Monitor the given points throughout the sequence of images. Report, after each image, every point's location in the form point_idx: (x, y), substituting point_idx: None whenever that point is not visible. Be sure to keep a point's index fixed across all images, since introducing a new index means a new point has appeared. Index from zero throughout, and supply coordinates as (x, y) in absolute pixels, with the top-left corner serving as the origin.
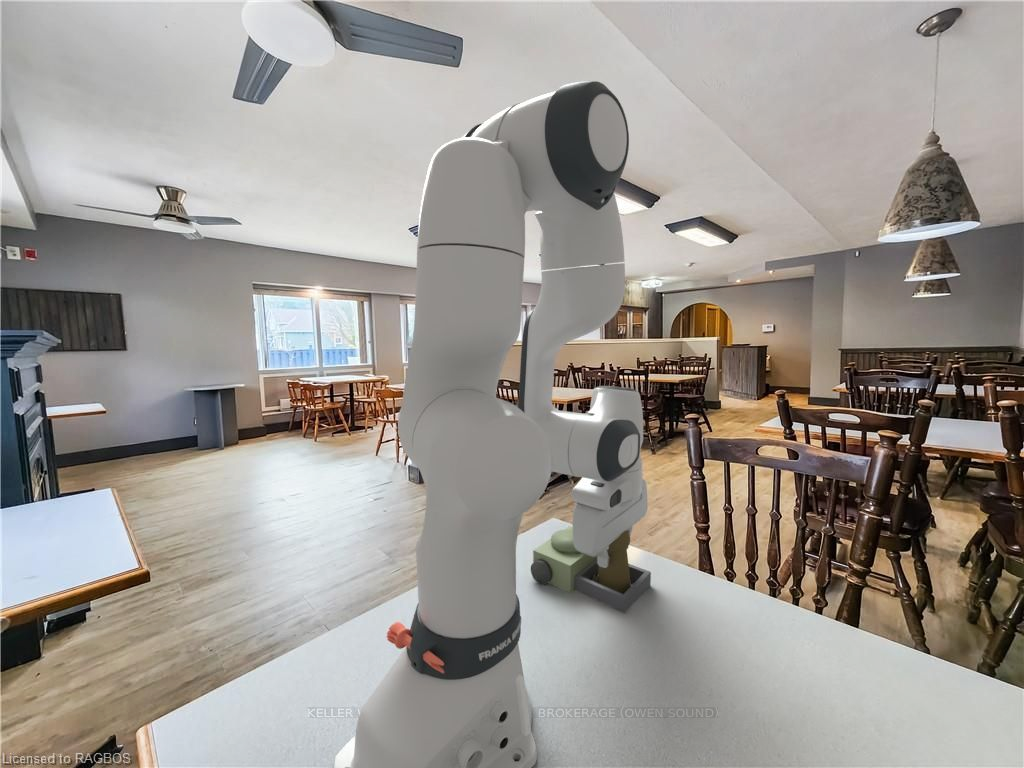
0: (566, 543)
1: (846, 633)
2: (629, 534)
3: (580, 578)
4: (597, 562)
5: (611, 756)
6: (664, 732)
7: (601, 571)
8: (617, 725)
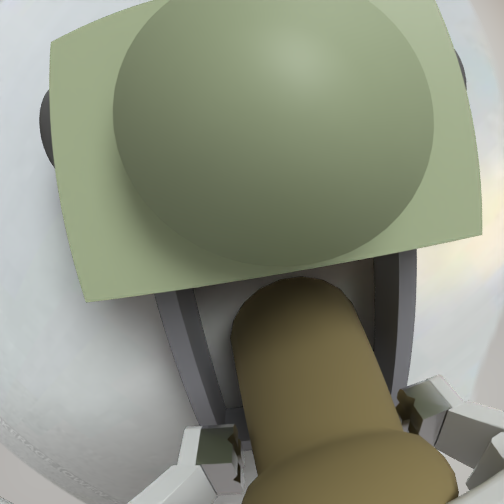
0: (184, 136)
1: None
2: (464, 463)
3: (159, 302)
4: (184, 432)
5: (31, 467)
6: (91, 497)
7: (243, 372)
8: (48, 467)
